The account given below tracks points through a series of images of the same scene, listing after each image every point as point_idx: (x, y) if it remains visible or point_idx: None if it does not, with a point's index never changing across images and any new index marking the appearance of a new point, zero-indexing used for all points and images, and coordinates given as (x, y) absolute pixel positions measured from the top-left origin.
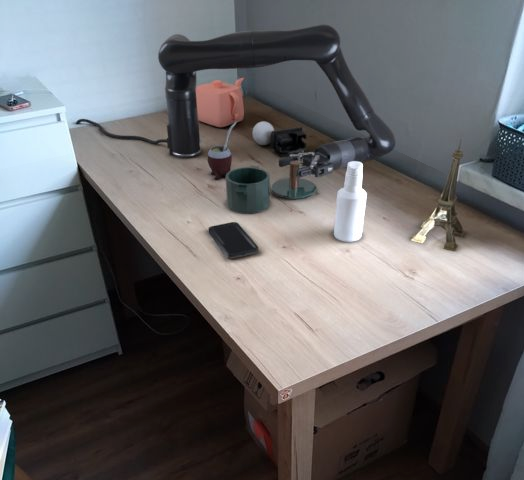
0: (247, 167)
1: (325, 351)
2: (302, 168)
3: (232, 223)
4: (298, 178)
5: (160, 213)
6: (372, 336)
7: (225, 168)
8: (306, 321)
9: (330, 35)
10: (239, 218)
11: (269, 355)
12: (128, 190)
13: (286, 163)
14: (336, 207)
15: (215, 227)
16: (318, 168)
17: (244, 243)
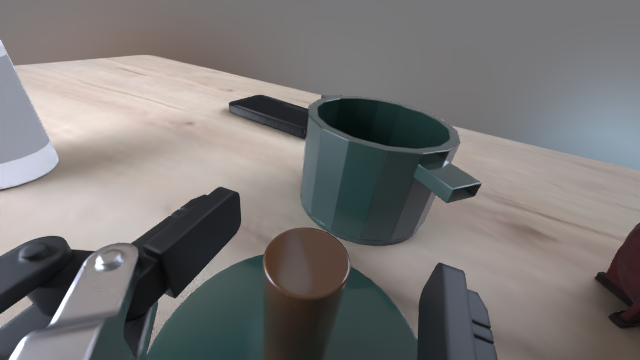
0: (445, 146)
1: (106, 62)
2: (199, 205)
3: None
4: (263, 340)
5: None
6: (43, 66)
7: (627, 265)
8: (129, 72)
9: None
10: None
11: (161, 61)
12: (568, 165)
13: (424, 343)
14: (17, 74)
15: None
16: (26, 245)
17: (256, 107)
